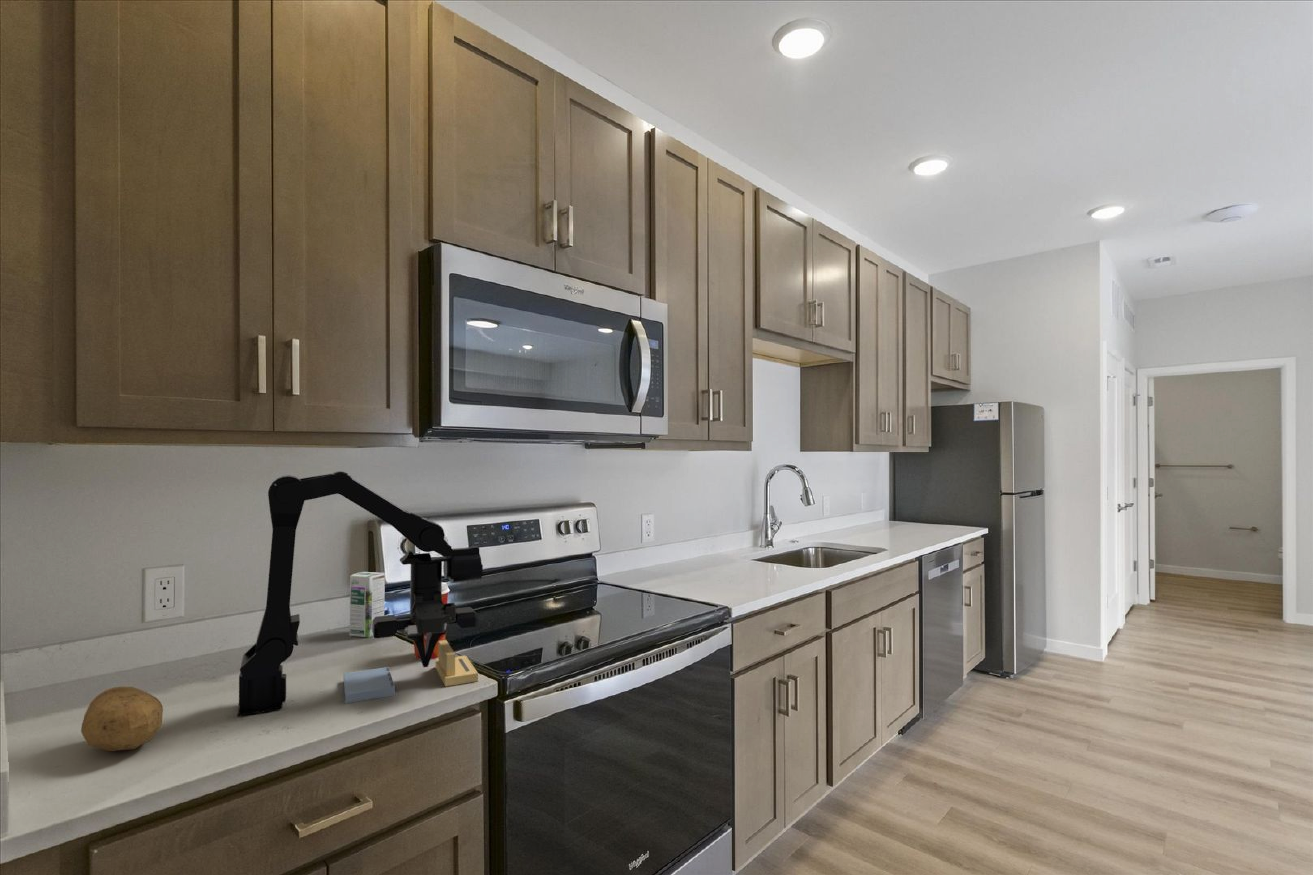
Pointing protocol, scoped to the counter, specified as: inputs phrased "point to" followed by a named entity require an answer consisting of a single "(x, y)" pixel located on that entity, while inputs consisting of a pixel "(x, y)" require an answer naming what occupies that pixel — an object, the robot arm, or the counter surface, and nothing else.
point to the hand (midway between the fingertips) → (425, 666)
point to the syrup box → (365, 601)
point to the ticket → (368, 684)
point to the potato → (121, 719)
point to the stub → (454, 666)
